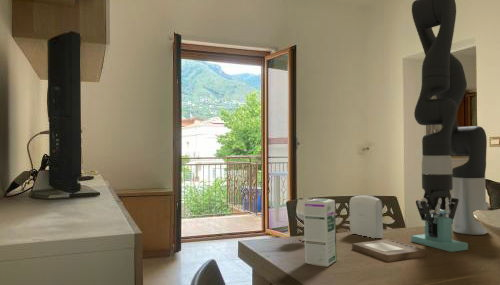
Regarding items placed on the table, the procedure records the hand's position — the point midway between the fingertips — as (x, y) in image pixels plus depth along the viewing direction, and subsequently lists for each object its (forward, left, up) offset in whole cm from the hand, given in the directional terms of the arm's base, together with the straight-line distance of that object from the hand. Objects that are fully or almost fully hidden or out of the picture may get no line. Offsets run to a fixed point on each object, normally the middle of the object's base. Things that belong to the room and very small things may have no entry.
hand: (438, 236), depth 106 cm
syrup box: (+37, 0, -3) cm, 38 cm away
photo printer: (+9, -18, -3) cm, 21 cm away
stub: (0, 0, -2) cm, 2 cm away
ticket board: (+17, 0, -3) cm, 18 cm away
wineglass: (+28, -21, -3) cm, 35 cm away
